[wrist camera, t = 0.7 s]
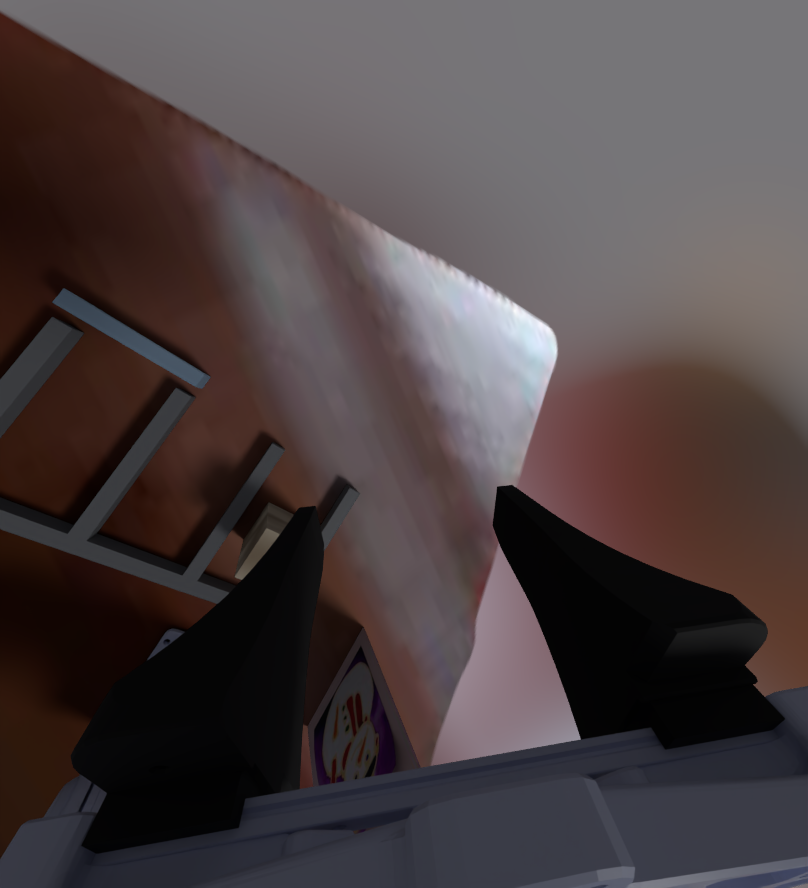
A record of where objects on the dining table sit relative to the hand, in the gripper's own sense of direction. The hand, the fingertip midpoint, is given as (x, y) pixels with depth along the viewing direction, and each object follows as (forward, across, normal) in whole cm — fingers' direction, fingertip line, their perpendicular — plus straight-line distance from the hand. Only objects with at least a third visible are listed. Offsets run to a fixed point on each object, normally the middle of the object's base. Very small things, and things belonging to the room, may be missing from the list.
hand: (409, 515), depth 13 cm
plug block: (+14, +11, +12) cm, 22 cm away
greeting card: (+9, +6, +31) cm, 33 cm away
